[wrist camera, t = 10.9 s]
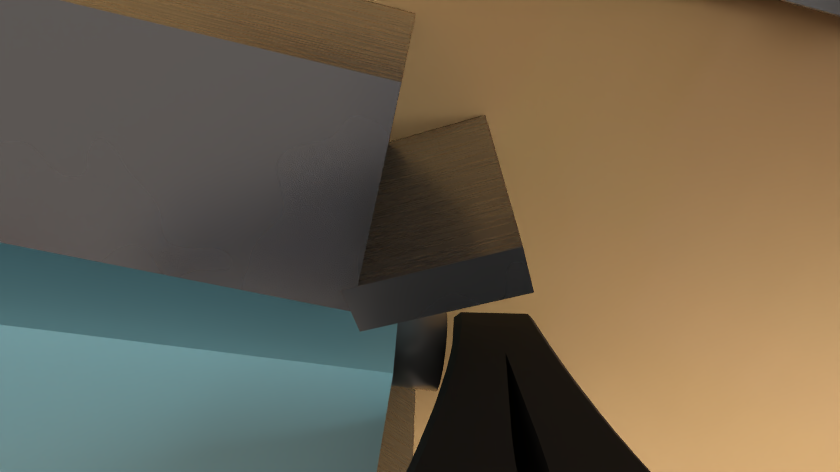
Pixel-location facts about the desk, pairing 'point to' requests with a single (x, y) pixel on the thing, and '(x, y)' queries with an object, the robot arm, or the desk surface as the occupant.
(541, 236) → the desk surface
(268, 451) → the teal rectangular block
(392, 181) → the port block
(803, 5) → the holster
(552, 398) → the robot arm
